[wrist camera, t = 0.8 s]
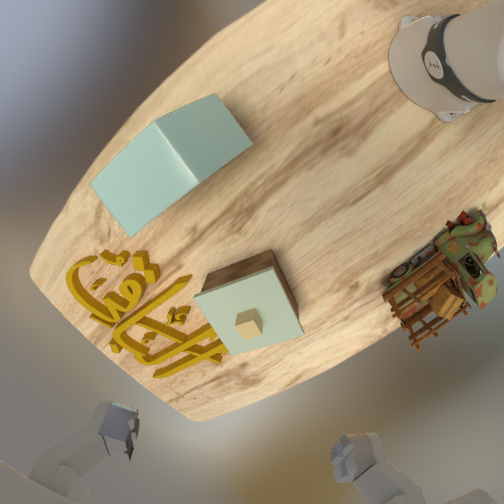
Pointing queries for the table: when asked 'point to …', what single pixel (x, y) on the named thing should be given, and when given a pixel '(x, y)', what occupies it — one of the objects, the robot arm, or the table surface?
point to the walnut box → (249, 268)
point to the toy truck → (444, 277)
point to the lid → (250, 312)
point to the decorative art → (133, 292)
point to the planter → (169, 161)
